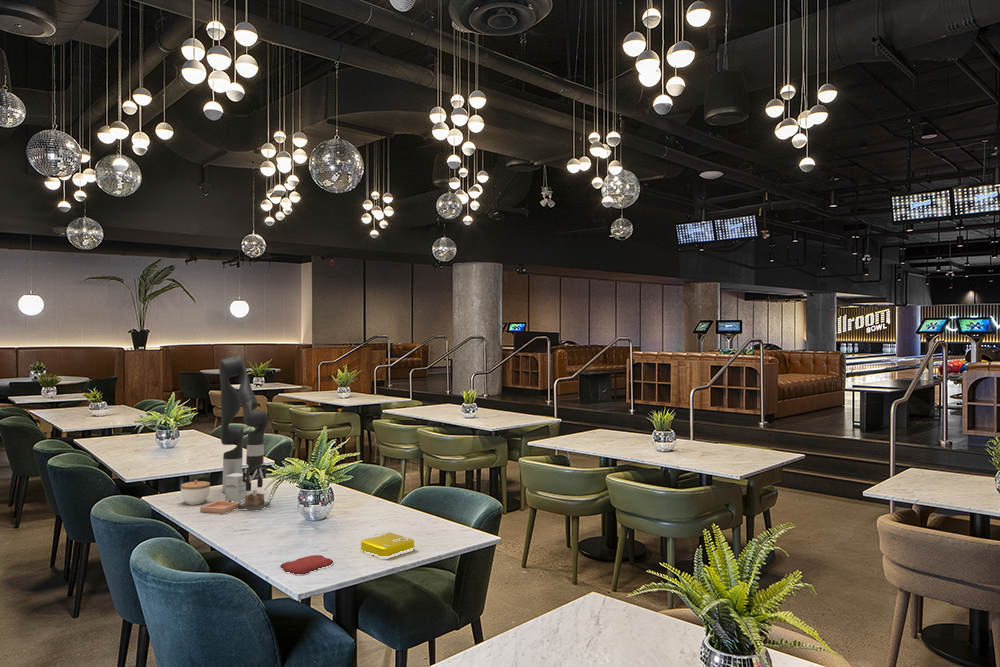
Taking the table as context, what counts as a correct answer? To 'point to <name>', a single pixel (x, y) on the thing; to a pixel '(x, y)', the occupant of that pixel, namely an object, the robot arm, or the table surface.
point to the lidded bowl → (195, 492)
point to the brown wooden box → (254, 499)
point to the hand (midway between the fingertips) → (254, 489)
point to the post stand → (253, 507)
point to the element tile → (386, 544)
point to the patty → (306, 564)
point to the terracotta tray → (219, 507)
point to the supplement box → (235, 487)
